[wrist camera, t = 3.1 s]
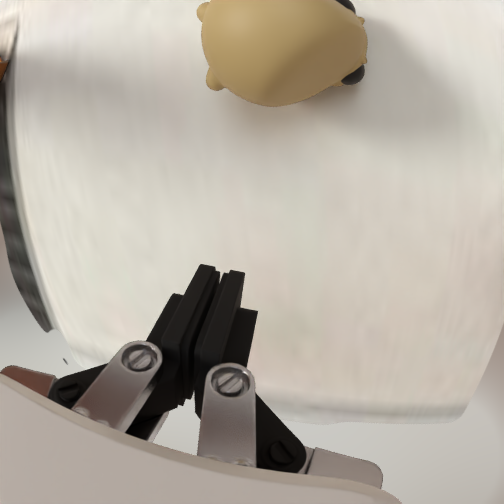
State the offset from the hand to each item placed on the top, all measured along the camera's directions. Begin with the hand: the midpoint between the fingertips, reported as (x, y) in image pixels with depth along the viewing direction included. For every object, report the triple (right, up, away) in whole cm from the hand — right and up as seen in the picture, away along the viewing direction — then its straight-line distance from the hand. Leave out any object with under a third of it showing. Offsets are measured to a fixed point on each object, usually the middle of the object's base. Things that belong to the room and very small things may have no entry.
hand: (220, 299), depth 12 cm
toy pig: (+4, +18, +9) cm, 21 cm away
